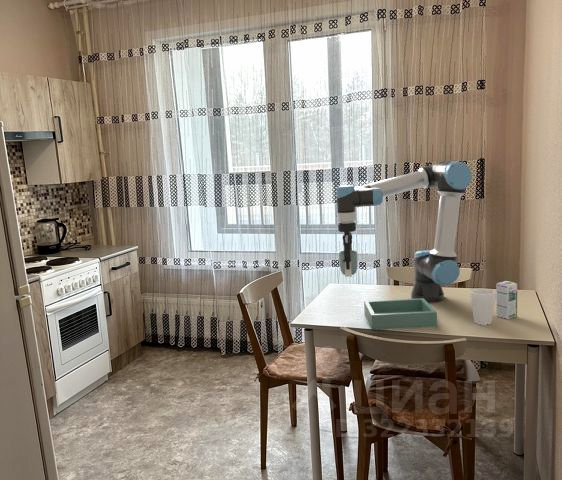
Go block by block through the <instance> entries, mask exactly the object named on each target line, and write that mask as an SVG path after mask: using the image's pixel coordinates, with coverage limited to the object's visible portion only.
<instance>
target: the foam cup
mask: <svg viewBox="0 0 562 480" xmlns="http://www.w3.org/2000/svg"><path fill="white" fill-rule="evenodd" d="M496 293H497V292H496V290H493V289H491V288H490V289H489V288H481V287H480V288H474V289H471V290H470V293H469V295H470V300H471V308H472V315H473V321H474V324H475V323H477V324H476V325H478V324H481V325H480V326H488V325H487V324H490V323H491V324H492V321H493V315H494V309H495V302H496ZM491 324H490V325H491Z"/></svg>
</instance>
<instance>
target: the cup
mask: <svg viewBox="0 0 562 480" xmlns="http://www.w3.org/2000/svg"><path fill="white" fill-rule="evenodd" d="M350 255H351V271H352V276H354V275H355V274H356V273H357V271H358V266H359V265H358V261H359V260H358V251H357V250H355V249H354V250H353V249H352V250H351V251H350ZM338 259H339V260H338V261H339V269H340V272H341V275H343V276H345V262H343V260H344V250H340V251H339V252H338Z"/></svg>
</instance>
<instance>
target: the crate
mask: <svg viewBox="0 0 562 480" xmlns="http://www.w3.org/2000/svg"><path fill="white" fill-rule="evenodd" d="M363 306H364V307H363V308H364V310H363V311H364V317H365V318H366V321H367V323H368V324H369V327H370V329H371V330H393V329H395V330H396V329H413V328H415V329H416V328H431V327H432V328H434V327H435V328H436V327H437V326H438V319H437V318H438V313H437V311H436V309H434V308H433V307H432V306H431V304H430V302H427V301H426V300H425V299H424V298H417V299H412V298H401V299H377V300H363Z"/></svg>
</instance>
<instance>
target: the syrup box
mask: <svg viewBox="0 0 562 480" xmlns="http://www.w3.org/2000/svg"><path fill="white" fill-rule="evenodd" d="M495 286H496V290H495V292H496V298H495V302H496V316H497V317H498V316H499V318H501V317H503V318H502V319H504V318H506V319H505V320H510V318H511V319H514V318H517V317H518V283H517V282H514V281H508V280H504V281H502V282H501V281H500V282H497V283H496V285H495ZM513 317H514V318H513Z"/></svg>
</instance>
